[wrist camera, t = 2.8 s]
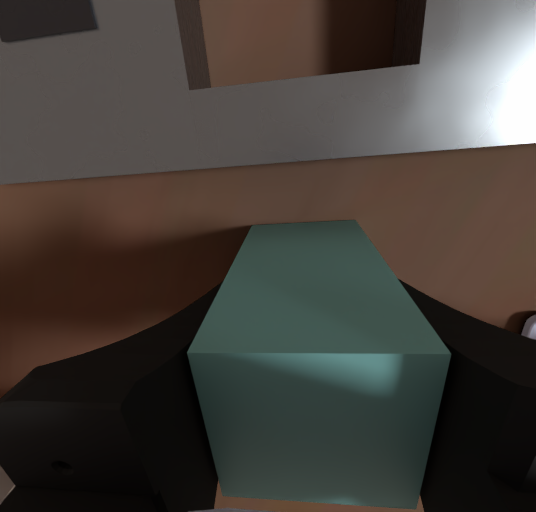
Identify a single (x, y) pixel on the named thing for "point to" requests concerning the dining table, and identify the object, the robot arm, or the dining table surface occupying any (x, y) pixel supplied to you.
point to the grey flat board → (248, 91)
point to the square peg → (318, 371)
